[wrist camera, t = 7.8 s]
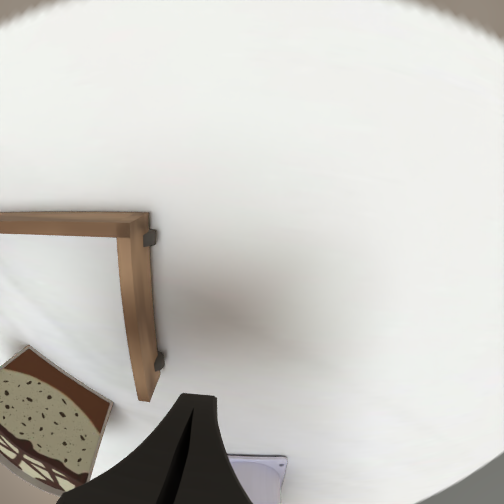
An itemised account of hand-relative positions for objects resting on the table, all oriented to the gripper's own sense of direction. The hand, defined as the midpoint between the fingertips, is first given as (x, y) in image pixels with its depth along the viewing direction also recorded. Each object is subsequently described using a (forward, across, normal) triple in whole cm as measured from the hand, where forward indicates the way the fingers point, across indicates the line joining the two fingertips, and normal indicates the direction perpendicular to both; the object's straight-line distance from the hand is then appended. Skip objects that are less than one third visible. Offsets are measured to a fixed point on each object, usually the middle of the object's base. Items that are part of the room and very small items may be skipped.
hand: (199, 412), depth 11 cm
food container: (+10, +15, +11) cm, 21 cm away
